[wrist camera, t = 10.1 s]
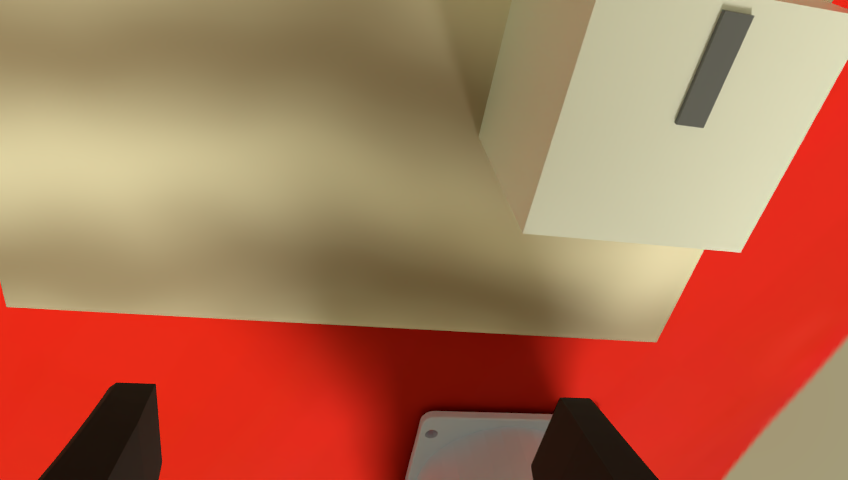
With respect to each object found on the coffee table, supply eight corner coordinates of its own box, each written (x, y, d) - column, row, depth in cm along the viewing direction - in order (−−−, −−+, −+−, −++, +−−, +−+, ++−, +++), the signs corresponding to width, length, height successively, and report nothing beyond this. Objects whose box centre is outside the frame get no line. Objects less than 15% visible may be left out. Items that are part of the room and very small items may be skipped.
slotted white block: (650, 157, 19) (742, 255, 14) (478, 136, 17) (524, 236, 13) (729, -34, 16) (874, 19, 11) (529, -73, 15) (607, -29, 10)
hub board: (645, 324, 24) (702, 415, 20) (20, 286, 20) (-53, 394, 16) (882, -158, 15) (1056, -151, 12) (-137, -415, 11) (-374, -534, 7)
